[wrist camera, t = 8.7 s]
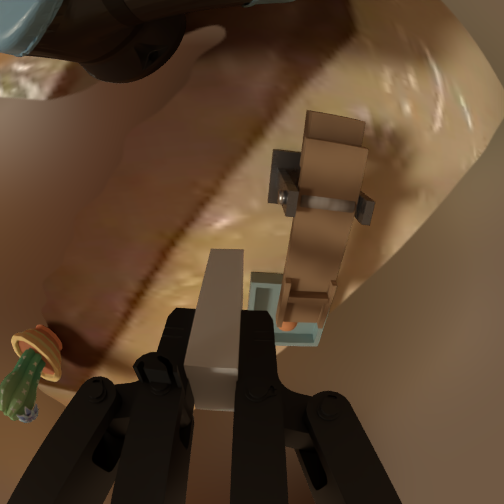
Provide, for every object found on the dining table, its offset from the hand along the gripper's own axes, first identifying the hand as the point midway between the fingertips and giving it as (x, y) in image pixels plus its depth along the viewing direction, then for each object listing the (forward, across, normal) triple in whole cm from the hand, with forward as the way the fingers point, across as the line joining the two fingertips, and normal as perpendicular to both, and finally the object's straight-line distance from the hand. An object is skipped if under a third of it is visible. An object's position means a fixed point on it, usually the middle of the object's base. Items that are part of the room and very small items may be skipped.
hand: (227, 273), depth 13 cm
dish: (+23, +7, -22) cm, 33 cm away
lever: (+18, +8, -5) cm, 20 cm away
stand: (+24, +8, -1) cm, 26 cm away
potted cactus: (+23, -48, -38) cm, 65 cm away
